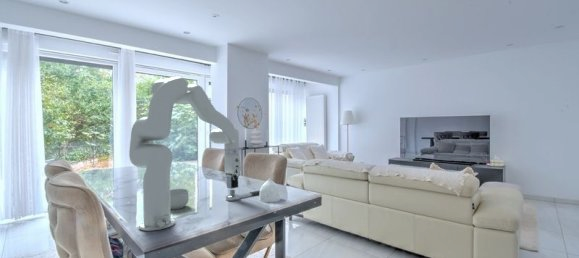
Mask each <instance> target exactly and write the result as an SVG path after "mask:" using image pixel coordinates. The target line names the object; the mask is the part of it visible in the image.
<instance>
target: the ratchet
mask: <svg viewBox="0 0 579 258" xmlns="http://www.w3.org/2000/svg"><path fill="white" fill-rule="evenodd" d="M259 193H260V189H258V190H255V191H250V192H247V193H243V194H236V190H235V189H230V190H229V194H227V195H225V201H226V202H236V201H240V200H241V199H246V198H249V197H254V196H255V197H256V196H259Z"/></svg>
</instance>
